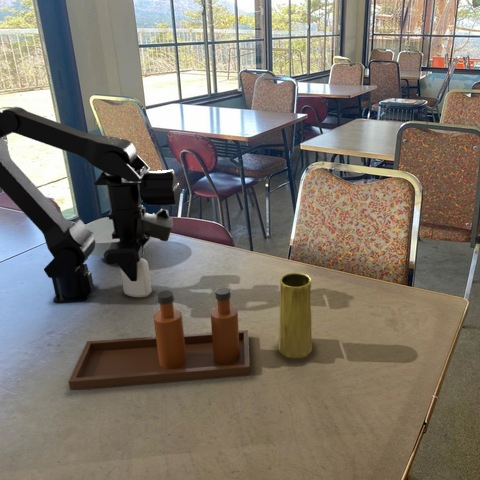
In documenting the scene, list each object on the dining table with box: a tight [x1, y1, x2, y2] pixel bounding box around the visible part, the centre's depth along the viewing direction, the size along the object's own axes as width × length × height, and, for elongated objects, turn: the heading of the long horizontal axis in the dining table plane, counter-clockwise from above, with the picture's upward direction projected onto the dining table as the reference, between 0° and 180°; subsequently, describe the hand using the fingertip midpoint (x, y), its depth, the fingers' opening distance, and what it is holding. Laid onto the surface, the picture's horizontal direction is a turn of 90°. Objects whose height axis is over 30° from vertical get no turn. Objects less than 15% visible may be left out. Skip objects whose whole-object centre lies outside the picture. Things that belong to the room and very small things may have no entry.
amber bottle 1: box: [152, 290, 186, 369], centre depth 79 cm, size 4×4×13 cm
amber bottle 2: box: [210, 286, 240, 364], centre depth 80 cm, size 4×4×13 cm
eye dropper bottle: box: [119, 257, 153, 298], centre depth 100 cm, size 4×6×12 cm
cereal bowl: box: [84, 216, 153, 259], centre depth 119 cm, size 17×17×7 cm
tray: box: [68, 329, 251, 391], centre depth 81 cm, size 28×11×2 cm, turn 99°
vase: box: [278, 272, 313, 359], centre depth 83 cm, size 6×6×14 cm
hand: (136, 275), depth 101 cm, fingers closed on eye dropper bottle, 5 cm apart
